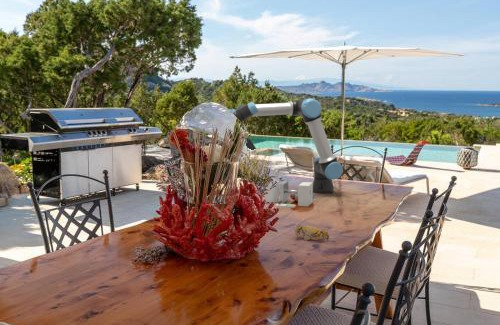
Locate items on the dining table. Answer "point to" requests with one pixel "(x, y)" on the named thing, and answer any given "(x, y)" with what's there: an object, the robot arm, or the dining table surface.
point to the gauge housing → (302, 195)
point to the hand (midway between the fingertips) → (261, 163)
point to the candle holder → (273, 194)
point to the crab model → (311, 232)
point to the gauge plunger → (285, 192)
